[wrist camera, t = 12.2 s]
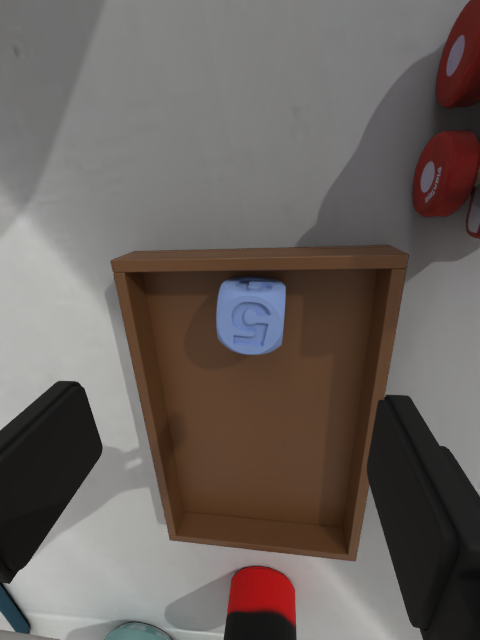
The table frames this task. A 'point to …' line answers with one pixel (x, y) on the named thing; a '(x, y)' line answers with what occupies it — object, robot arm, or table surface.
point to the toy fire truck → (454, 146)
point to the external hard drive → (11, 615)
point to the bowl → (137, 632)
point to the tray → (263, 392)
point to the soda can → (261, 606)
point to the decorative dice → (251, 314)
